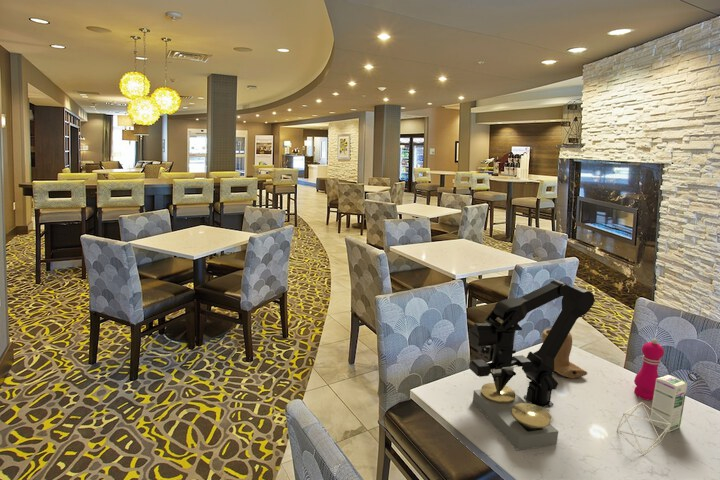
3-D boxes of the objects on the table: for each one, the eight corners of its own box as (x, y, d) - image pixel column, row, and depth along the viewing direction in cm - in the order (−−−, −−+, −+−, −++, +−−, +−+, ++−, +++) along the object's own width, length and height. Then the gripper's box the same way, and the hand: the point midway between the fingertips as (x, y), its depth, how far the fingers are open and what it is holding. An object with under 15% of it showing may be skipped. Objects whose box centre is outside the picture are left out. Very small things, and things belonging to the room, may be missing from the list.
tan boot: (531, 362, 172) (536, 325, 169) (557, 359, 176) (562, 322, 173) (559, 382, 158) (565, 341, 155) (587, 378, 162) (593, 338, 159)
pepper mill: (661, 402, 147) (672, 344, 143) (637, 399, 149) (647, 341, 145) (652, 391, 154) (662, 335, 150) (629, 388, 156) (638, 333, 152)
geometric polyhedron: (667, 461, 119) (673, 430, 117) (619, 449, 123) (625, 418, 121) (659, 436, 130) (664, 406, 128) (615, 425, 134) (620, 396, 133)
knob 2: (533, 416, 132) (535, 401, 131) (557, 437, 122) (559, 421, 121) (503, 420, 129) (505, 405, 128) (524, 442, 119) (526, 425, 119)
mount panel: (506, 397, 147) (507, 386, 146) (556, 444, 124) (558, 431, 123) (472, 401, 143) (473, 390, 143) (517, 450, 121) (519, 436, 120)
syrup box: (668, 433, 131) (677, 386, 128) (647, 422, 136) (656, 377, 133) (680, 428, 134) (689, 382, 131) (659, 417, 139) (667, 373, 136)
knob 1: (502, 395, 147) (503, 381, 146) (520, 412, 138) (522, 398, 137) (474, 398, 144) (475, 384, 144) (491, 416, 135) (492, 401, 134)
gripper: (515, 331, 147) (510, 375, 150) (462, 335, 142) (458, 381, 145) (536, 345, 137) (531, 393, 140) (481, 350, 132) (476, 400, 135)
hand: (498, 391), depth 140 cm, fingers closed, pressing on knob 1
